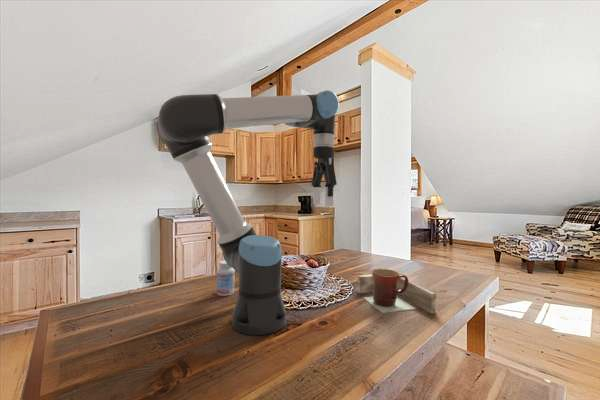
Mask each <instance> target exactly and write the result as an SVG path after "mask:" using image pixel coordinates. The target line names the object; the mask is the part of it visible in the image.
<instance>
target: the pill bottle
mask: <svg viewBox="0 0 600 400" xmlns="http://www.w3.org/2000/svg"><path fill="white" fill-rule="evenodd" d="M218 264H219V265H218V266H219V268H217V270H216V294H217V296H221V297H228V296H231V295H233V294H234V293H235V274H236V273H235V272H236V271H235V270H234V269H233V268H232V267H230V266H229V265H228V264H227V263H226V261H225V259H223V260H220V261H219V263H218Z"/></svg>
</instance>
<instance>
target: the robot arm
mask: <svg viewBox="0 0 600 400" xmlns="http://www.w3.org/2000/svg"><path fill="white" fill-rule="evenodd" d="M339 103H340V101H339V98H338V96H337V95H336V93H335V92H333V91H332V90H327V89H325V90H324V91H320V92H318V93H317V94H301V95H299V94H298V95H297V94H296V95H293V94H292V95H271V96H270V95H269V96H268V95H267V96H247V97H246V96H245V97H224V98H223V97H221V96H220V95H219V94H218V93H213V94H211V93H210V94H207V93H206V94H183V95H181V94H180V95H176V96H173V97H171V98H169V99H166V101H165V102H164V103H163V104H162V105H161V107H160V109H159V113H158V118H157V121H156V133H157V135H158V138H159V139H160V141H161V142H162V143H163V144H164V145H165V146H166V147H167V148H166V149H168V151H169V153H170V155H171V157H172V159H173V161H175V162H178V163H181V164H182V166H183V168H184V170H185V171H186V174H187V175H188V178H189V179H190V181H191V183H192V185H193V187H194V189H195V191H196V194H198V196H199V199H200V200H201V202H202V205H204V206H203V207H204V208H205V210H206V212H207V214H208V216H209V217H210V219H211V221H212V223H213V226H214V227H215V229H216V230H217V232H218V238H217V243H218V245H219V248H220V249H221V251H222V256H223V260H225V261H226V263H227V264H228V265H229V266H230V267H232V268H233V269H234V270H235V272H236V273H237V274H238V297H237V299H236V303H235V305H234V307H233V311H232V314H231V325H232V328H233V329H234V330H235V331H237V332H239V333H240V334H245V335H249V336H262V335H269V334H273V333H275V332H278V331H280V330H281V329H283V328H284V327H285V326H286V325H287V314H288V313H287V311H286V307H285V303H284V299H283V297H282V294H281V293H282V290H281V289H282V288H281V287H282V258H283V252H282V244H281V242H280V240H278V238H276V237H273V236H270V235H269V236H267V235H264V234H263V235H261V234H257V233H256V231H255V229H254V226H253V225H252V224H251V223H248V222H246V221H245V220H244V218H243V215H242V214H241V213H242V212H241V211H240V209H239V207H238V205H237V204H236V202H235V199H234V197H233V196H232V193H231V191H230V189H229V187H228V185H227V183H226V181H225V179H224V177H223V174H222V173H221V171H220V169H219V167H218V165H217V162H216V161H215V159H214V156H213V155H212V153H211V149H212V146H213V143H212V141H211V138H210V136H211V135H218V134H219V135H220V134H224V133H225V131H226V130H228V129H229V130H230V129H239V128H248V127H257V126H258V127H259V126H270V125H271V126H272V125H279V124H284V125H285V126H289V127H292V128H300V129H308V130H313V144H312V145H313V146H314V147H313V153H312V154H313V155H312V157H313V158H314V159H317V161H314V164H313V165H314V167H313V171H312V172H313V173H312V179H311V186H312V187H313V188H312V189H313V191H312V193H313V194H312V195H313V196H312V204H313V205H320V204H321V190H322V189H321V188H322V185H321V183H322V179H324V181H325V185H324V187H325V190H324V192H325V193H324V206H325V207H334V188H335V186H337V179H336V172H335V165H334V164H335V163H334V157H335V148H334V145H335V141H336V138H335V128H336V127H335V125H336V123H335V121H336V120H335V119H336V114H337V113H338V111H339V107H340V104H339Z"/></svg>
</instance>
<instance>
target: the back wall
mask: <svg viewBox="0 0 600 400" xmlns="http://www.w3.org/2000/svg"><path fill="white" fill-rule="evenodd" d="M404 284H405V278H404V277H402V278H399V279H398V280H397V285H396V289H397V290H400V289H402V288H403V286H404ZM399 295H400V296H402V297H403V298H405V299H406V300H408V301H410V302H412V303H413V304H415V305H416V306H418V307H420V308H422V309H423V310H425V311H427V312H428V313H430V314H436V303H437V302H436V301H437V299H436V298H437V296H436V295H437V294H436V293H435V292H433V291H432V290H429V289H427V288H425V287H423V286H421V285H419V284H417V283H415V282H413V281H412V280H410V279H408V287H407V289H406V290H405V291H404V292H403V293H401V294H399Z"/></svg>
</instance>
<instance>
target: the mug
mask: <svg viewBox="0 0 600 400" xmlns="http://www.w3.org/2000/svg"><path fill="white" fill-rule="evenodd" d="M370 272H371V275H372V276H373V292H372V297H373V301H374V302H375V303H376V304H378V305H380V306H385V307H390V306H393V305H394V304H395V302H396V298H397V297H398V296H397V295H400V294H401V293H403V292H404V291H405V290H406V289H407V287H408V280H409V278H408V276H407V275H405V274H403V273H399V271H397V270H393V269H388V268H374V269H372V270H371V271H370ZM402 277H403V278H405V284H404V286H403V288H402V289H400V290H397V289H396V285H397V280H398V279H399V278H402ZM396 296H397V297H396Z"/></svg>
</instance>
